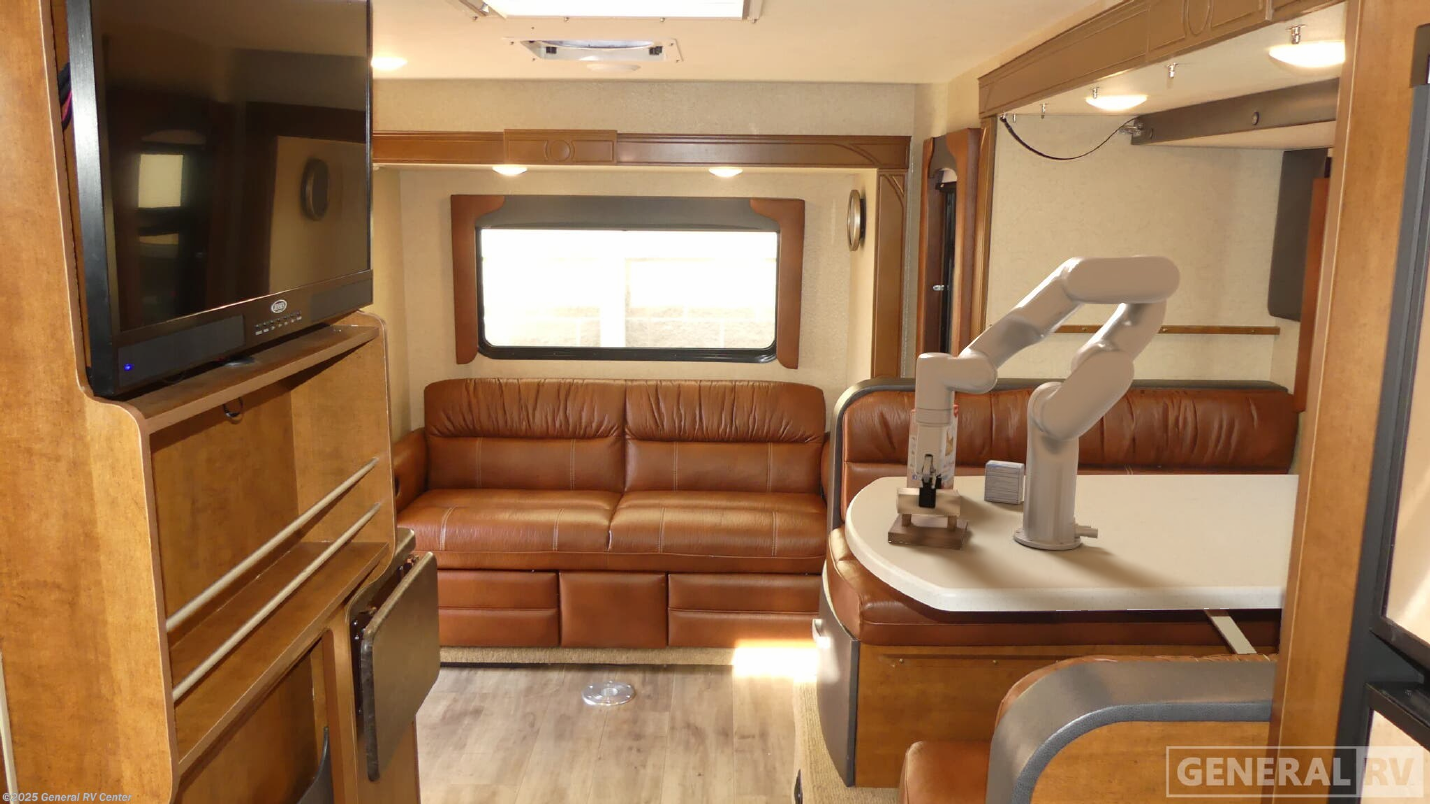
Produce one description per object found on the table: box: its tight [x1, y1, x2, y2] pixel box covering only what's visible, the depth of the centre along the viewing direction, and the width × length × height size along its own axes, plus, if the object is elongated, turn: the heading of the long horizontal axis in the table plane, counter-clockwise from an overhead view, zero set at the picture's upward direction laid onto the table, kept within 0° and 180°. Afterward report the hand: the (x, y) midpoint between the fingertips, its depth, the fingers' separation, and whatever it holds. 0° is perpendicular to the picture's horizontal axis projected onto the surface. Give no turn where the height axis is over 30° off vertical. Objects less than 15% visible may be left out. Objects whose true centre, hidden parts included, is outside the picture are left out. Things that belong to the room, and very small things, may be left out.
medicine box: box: [983, 460, 1025, 505], centre depth 229 cm, size 8×4×9 cm, turn 63°
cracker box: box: [906, 404, 960, 490], centre depth 231 cm, size 14×6×21 cm, turn 143°
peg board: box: [887, 514, 969, 550], centre depth 203 cm, size 14×14×5 cm
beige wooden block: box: [895, 487, 961, 517], centre depth 202 cm, size 12×5×4 cm, turn 83°
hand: (929, 501), depth 202 cm, fingers open, 8 cm apart
